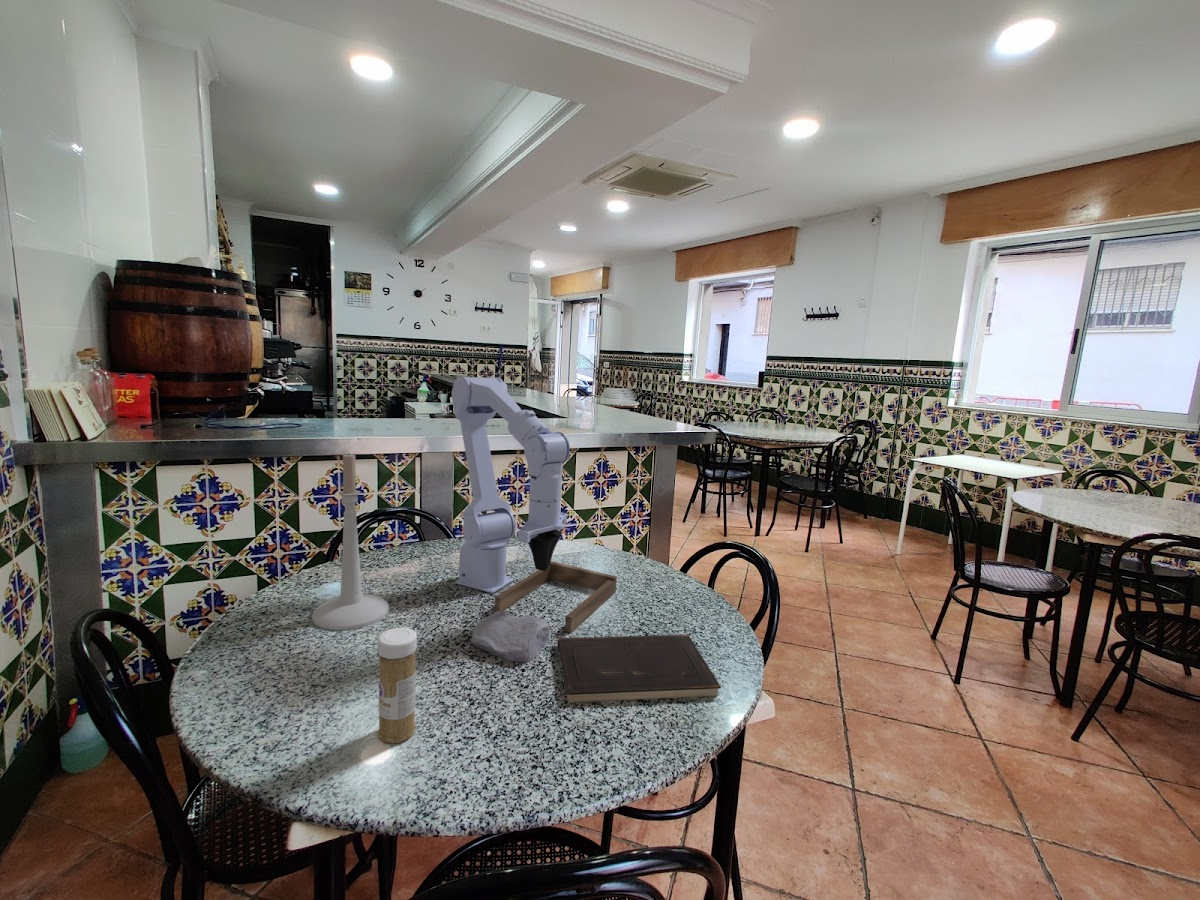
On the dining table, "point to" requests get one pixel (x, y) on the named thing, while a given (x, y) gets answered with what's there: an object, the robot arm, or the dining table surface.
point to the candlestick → (350, 571)
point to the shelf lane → (569, 574)
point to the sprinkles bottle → (397, 684)
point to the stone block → (511, 636)
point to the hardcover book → (634, 668)
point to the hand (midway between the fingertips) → (541, 568)
